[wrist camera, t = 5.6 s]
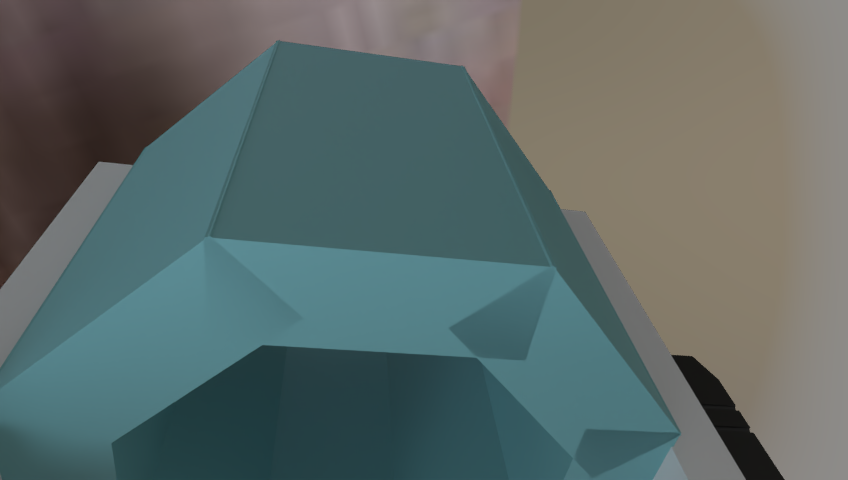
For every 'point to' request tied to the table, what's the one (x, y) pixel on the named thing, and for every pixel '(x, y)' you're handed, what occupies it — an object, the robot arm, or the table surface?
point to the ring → (331, 301)
